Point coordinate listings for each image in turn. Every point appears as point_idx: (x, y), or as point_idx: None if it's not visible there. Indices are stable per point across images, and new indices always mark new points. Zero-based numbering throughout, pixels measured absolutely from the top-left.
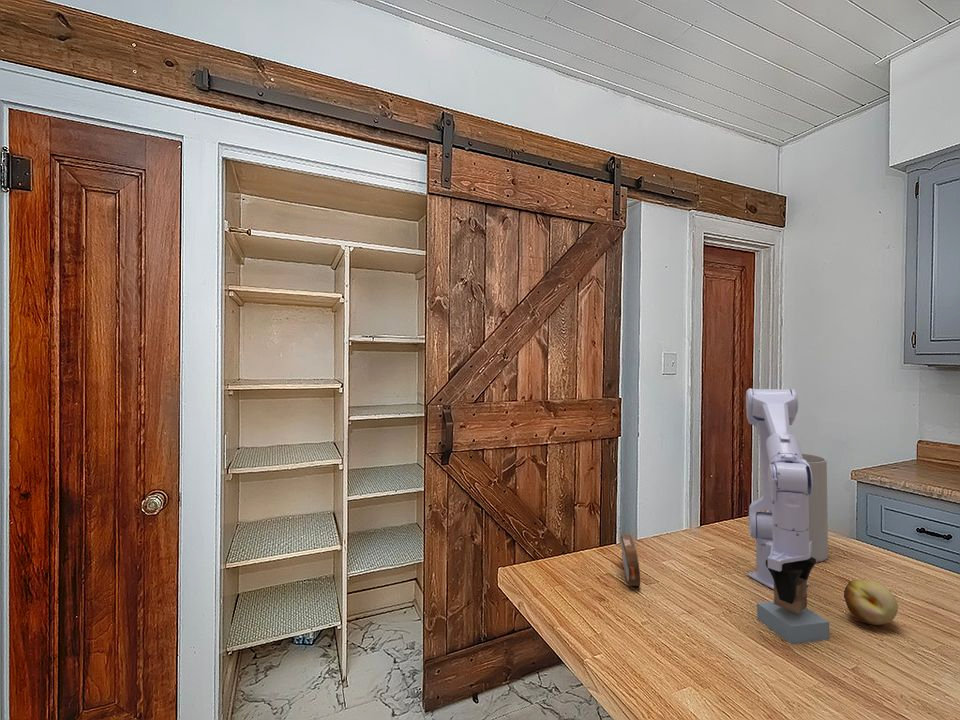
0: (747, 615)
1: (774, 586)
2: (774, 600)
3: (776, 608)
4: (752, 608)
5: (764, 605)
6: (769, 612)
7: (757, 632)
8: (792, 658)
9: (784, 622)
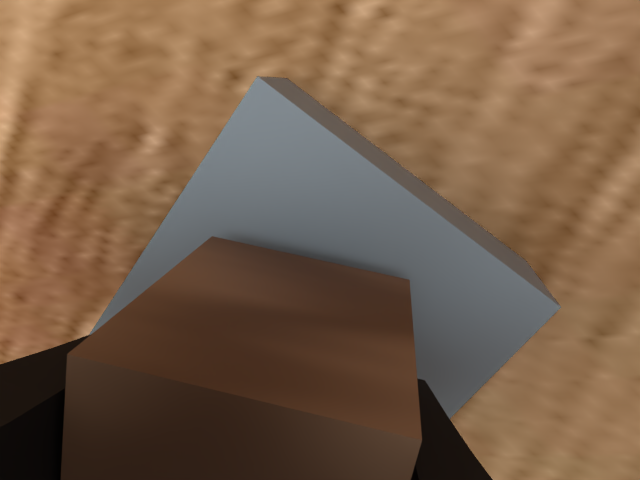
0: (291, 6)
1: (128, 309)
2: (200, 249)
3: (277, 229)
4: (433, 4)
5: (259, 140)
6: (180, 195)
7: (116, 123)
8: (11, 321)
9: (107, 307)
